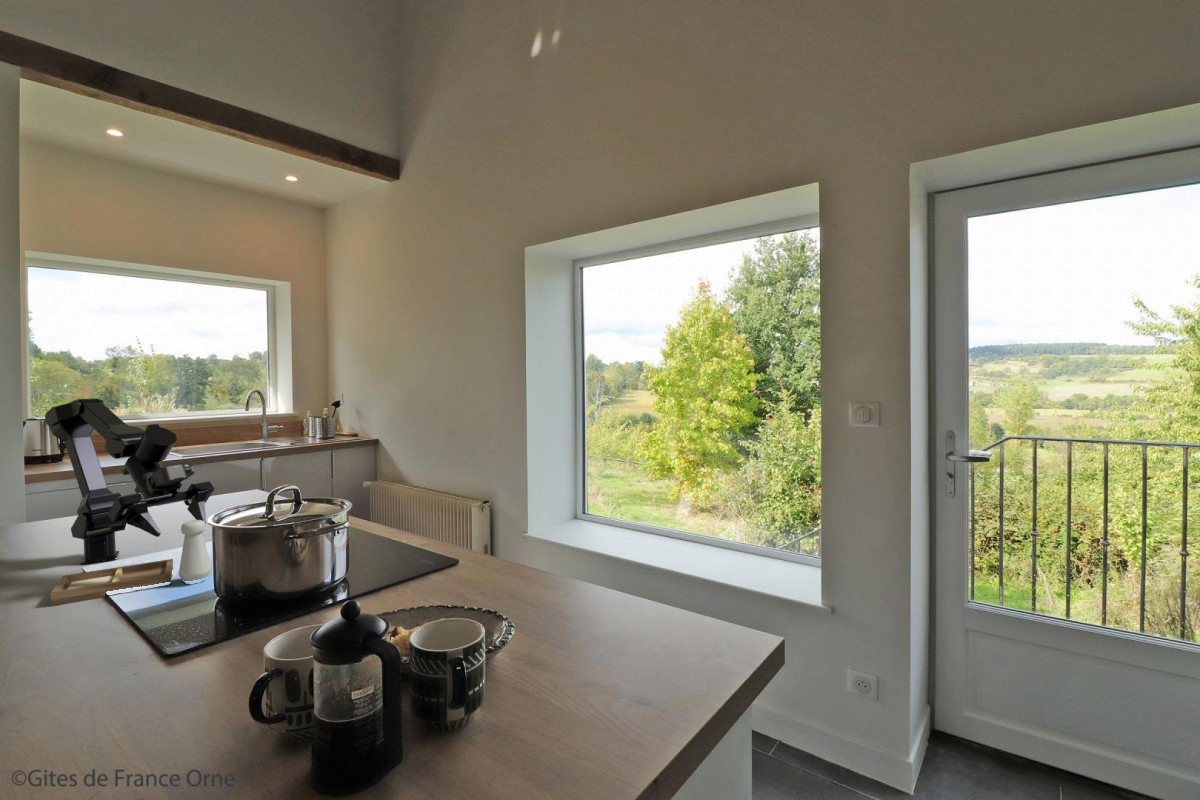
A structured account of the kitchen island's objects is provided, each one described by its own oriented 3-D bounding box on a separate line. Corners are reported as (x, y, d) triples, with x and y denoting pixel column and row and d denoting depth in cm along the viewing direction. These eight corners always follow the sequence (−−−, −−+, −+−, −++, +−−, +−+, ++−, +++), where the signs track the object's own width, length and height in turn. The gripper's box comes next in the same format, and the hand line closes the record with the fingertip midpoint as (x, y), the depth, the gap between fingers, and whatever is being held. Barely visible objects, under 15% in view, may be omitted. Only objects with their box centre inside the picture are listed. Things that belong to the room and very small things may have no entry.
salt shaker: (218, 576, 125) (216, 518, 124) (197, 586, 119) (195, 525, 118) (194, 575, 125) (191, 517, 124) (172, 585, 119) (169, 524, 119)
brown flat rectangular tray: (63, 586, 119) (63, 575, 119) (173, 569, 129) (172, 558, 129) (51, 606, 109) (50, 594, 109) (170, 585, 120) (170, 574, 119)
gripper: (113, 458, 116) (148, 516, 112) (207, 446, 133) (241, 497, 129) (93, 493, 119) (127, 551, 115) (188, 477, 136) (220, 527, 132)
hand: (182, 529), depth 123 cm, fingers open, 9 cm apart
